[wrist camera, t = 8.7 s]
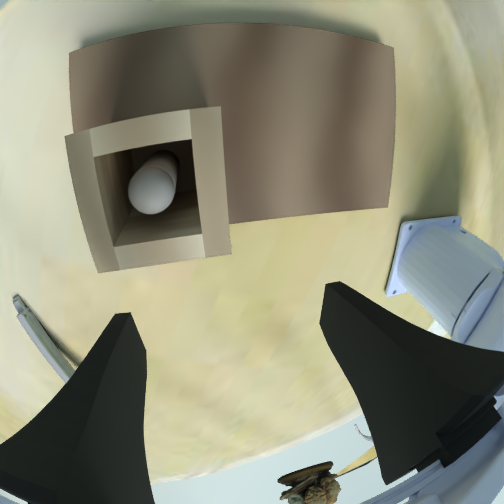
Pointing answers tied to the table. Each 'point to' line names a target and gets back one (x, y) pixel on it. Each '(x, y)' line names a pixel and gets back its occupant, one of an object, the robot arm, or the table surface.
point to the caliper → (42, 340)
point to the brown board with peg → (251, 113)
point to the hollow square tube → (160, 224)
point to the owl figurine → (311, 485)
